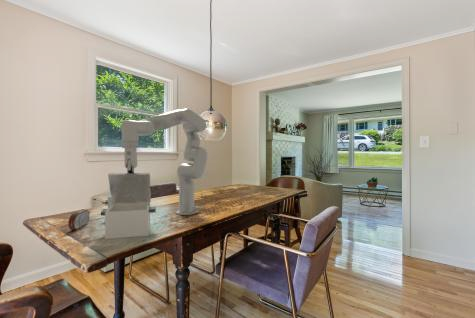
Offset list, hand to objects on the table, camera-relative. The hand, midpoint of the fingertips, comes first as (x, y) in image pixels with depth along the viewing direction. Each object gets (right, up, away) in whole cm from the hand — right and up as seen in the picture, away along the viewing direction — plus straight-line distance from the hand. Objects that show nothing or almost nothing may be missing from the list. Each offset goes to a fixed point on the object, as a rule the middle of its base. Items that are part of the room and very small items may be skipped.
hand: (130, 181), depth 123 cm
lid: (0, -4, 0) cm, 4 cm away
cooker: (+1, -24, -3) cm, 24 cm away
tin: (-27, -24, +2) cm, 36 cm away
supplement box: (-17, -23, +21) cm, 35 cm away
